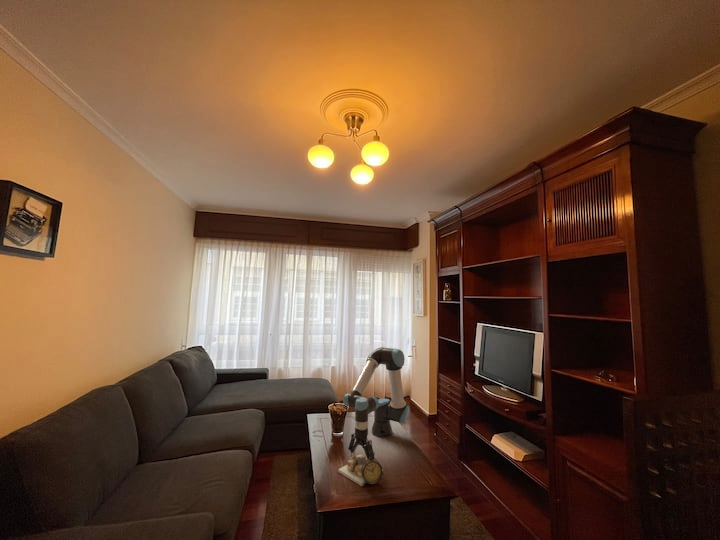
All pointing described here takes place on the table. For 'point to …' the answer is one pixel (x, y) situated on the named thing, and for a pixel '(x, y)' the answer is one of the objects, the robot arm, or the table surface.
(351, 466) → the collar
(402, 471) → the table surface
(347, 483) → the table surface
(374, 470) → the alarm clock
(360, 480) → the post board
